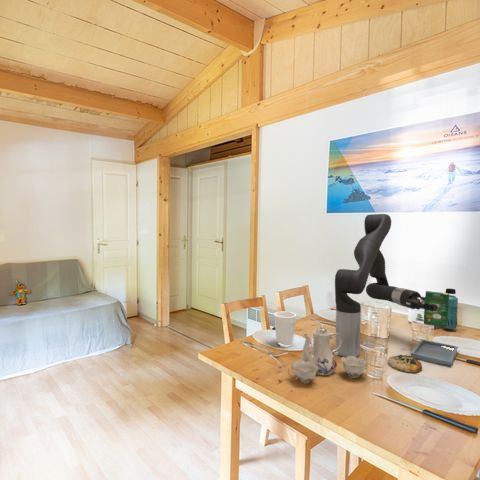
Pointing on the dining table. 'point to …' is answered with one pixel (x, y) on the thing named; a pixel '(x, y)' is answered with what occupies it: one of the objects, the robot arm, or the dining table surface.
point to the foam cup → (285, 327)
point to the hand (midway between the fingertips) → (441, 307)
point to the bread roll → (405, 363)
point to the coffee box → (437, 309)
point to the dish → (434, 353)
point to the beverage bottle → (452, 309)
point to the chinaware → (324, 358)
